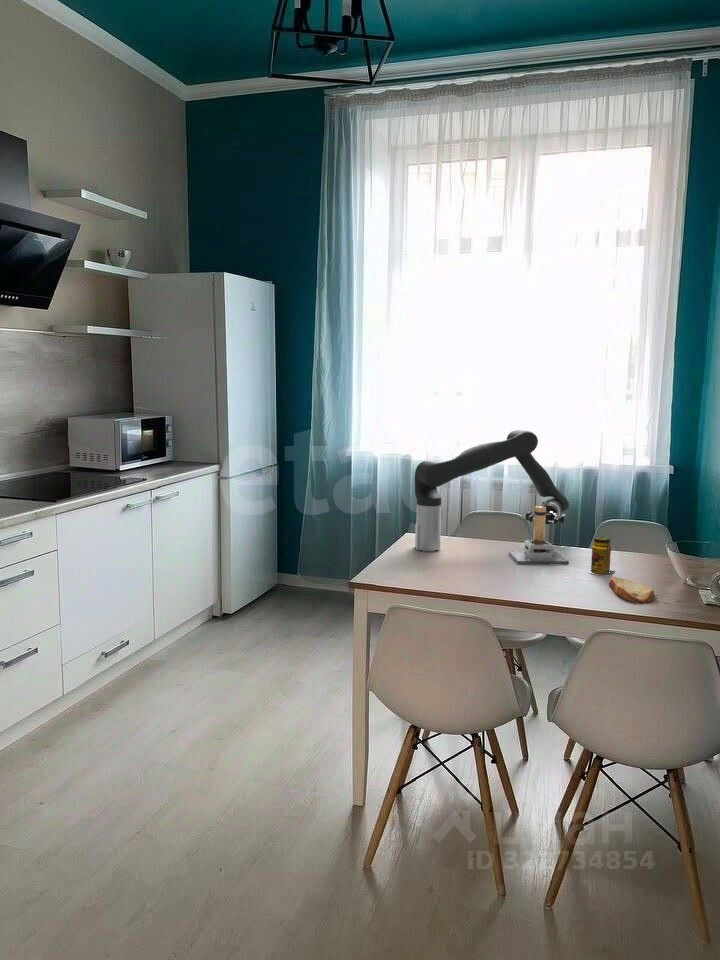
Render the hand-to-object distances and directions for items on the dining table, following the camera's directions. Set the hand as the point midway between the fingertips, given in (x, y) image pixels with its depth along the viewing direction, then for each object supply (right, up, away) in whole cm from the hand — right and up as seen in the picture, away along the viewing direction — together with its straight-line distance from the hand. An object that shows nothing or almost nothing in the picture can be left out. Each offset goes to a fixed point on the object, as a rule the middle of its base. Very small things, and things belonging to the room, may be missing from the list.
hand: (542, 520), depth 269 cm
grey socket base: (-3, -14, -4) cm, 15 cm away
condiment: (+15, -17, -20) cm, 30 cm away
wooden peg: (-3, -13, -4) cm, 13 cm away
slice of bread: (+16, -20, -43) cm, 50 cm away
